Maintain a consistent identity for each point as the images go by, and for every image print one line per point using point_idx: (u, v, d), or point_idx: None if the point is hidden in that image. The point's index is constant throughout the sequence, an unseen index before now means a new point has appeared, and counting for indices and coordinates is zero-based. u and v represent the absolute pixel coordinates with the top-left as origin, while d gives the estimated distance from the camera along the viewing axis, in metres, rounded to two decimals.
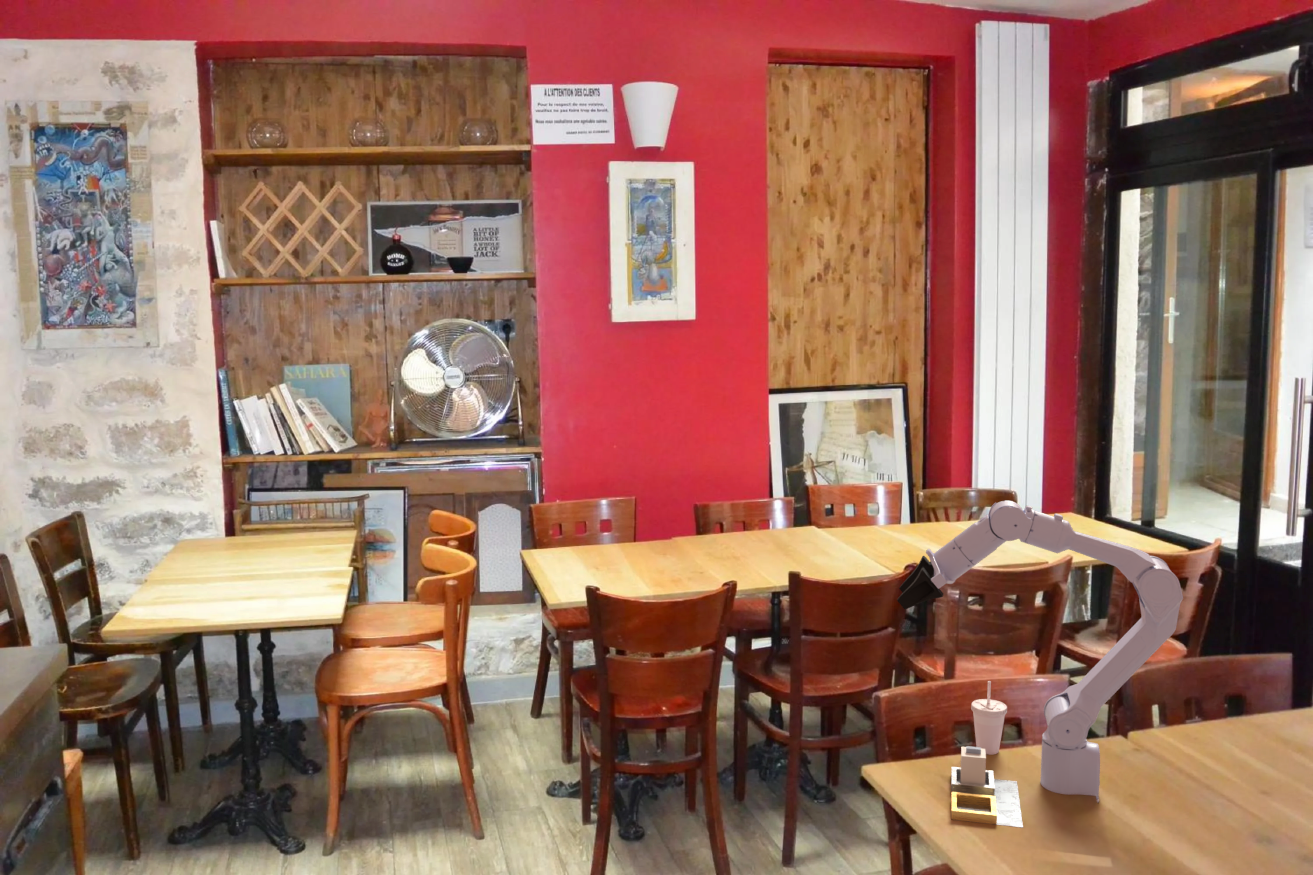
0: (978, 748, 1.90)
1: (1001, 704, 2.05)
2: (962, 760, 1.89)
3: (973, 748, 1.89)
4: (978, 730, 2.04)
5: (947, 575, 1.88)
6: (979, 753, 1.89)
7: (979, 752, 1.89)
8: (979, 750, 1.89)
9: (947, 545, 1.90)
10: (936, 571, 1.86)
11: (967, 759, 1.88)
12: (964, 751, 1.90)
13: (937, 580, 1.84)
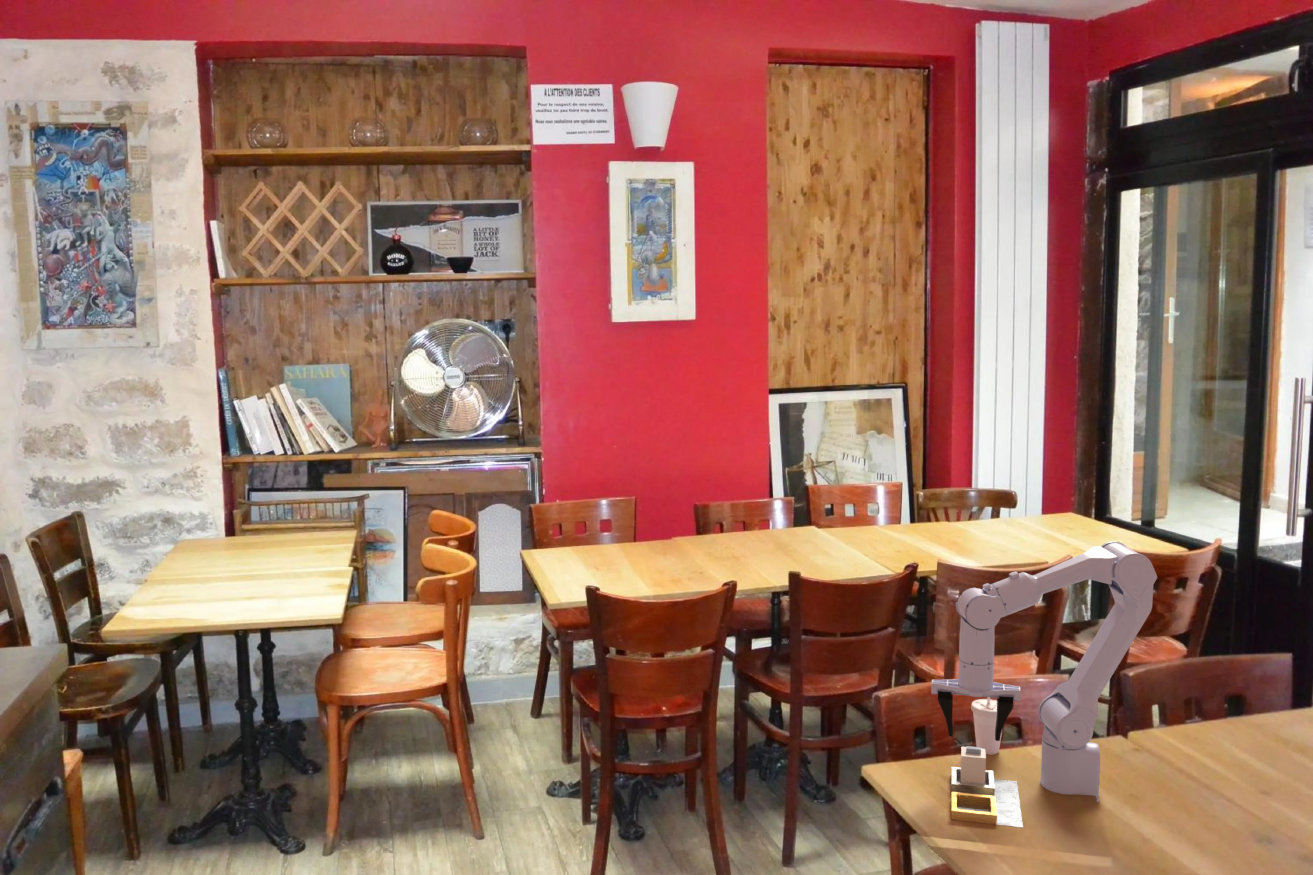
0: (978, 748, 1.90)
1: None
2: (962, 760, 1.89)
3: (973, 748, 1.89)
4: (978, 730, 2.04)
5: None
6: (979, 753, 1.89)
7: (979, 752, 1.89)
8: (979, 750, 1.89)
9: (981, 673, 1.85)
10: (1010, 692, 1.86)
11: (967, 759, 1.88)
12: (964, 751, 1.90)
13: None
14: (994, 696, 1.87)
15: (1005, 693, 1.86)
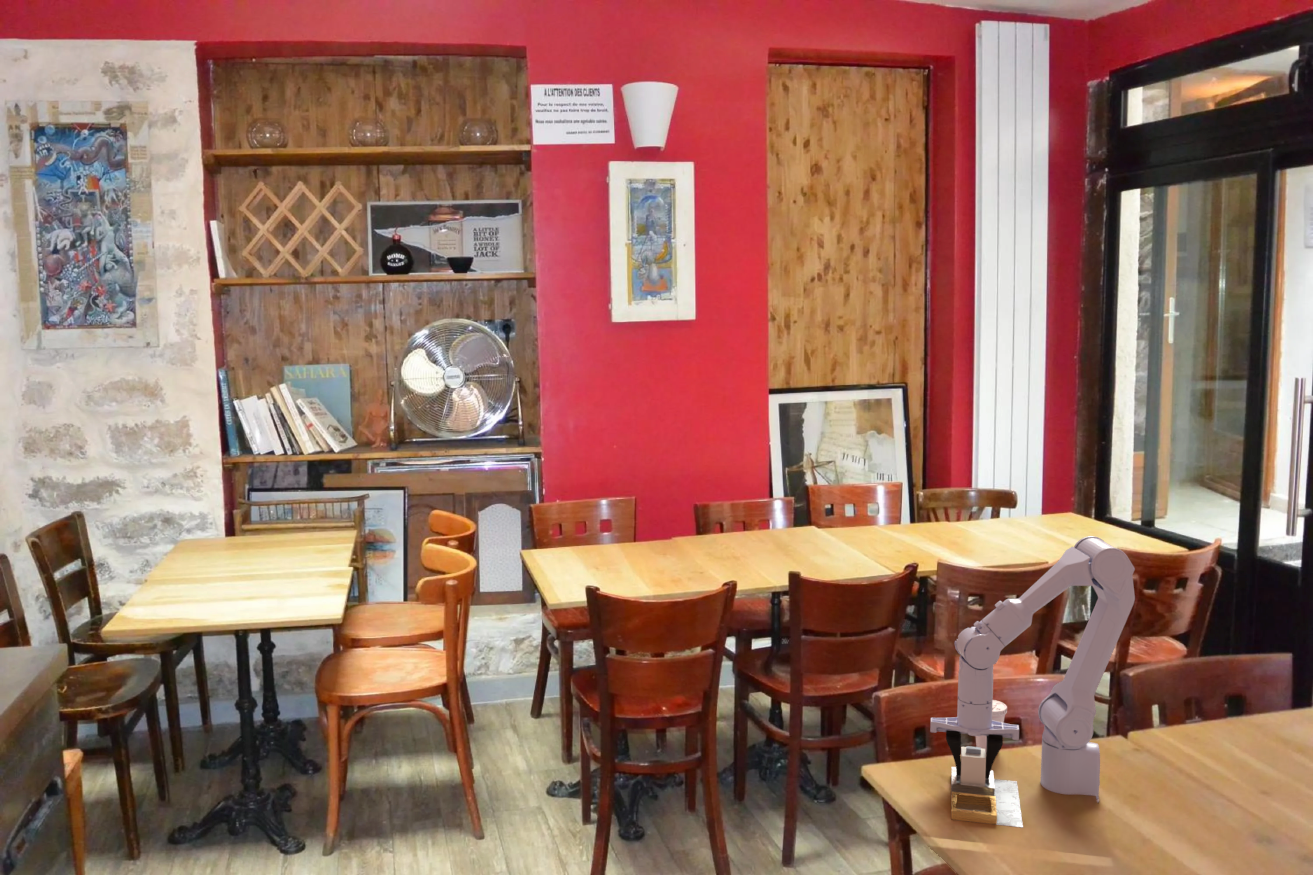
0: (978, 748, 1.90)
1: (1001, 704, 2.05)
2: (962, 760, 1.89)
3: (973, 748, 1.89)
4: None
5: None
6: (979, 753, 1.89)
7: (979, 752, 1.89)
8: (979, 750, 1.89)
9: (979, 712, 1.86)
10: (1008, 731, 1.87)
11: (967, 759, 1.88)
12: (964, 751, 1.90)
13: None
14: (993, 735, 1.88)
15: (1004, 732, 1.87)
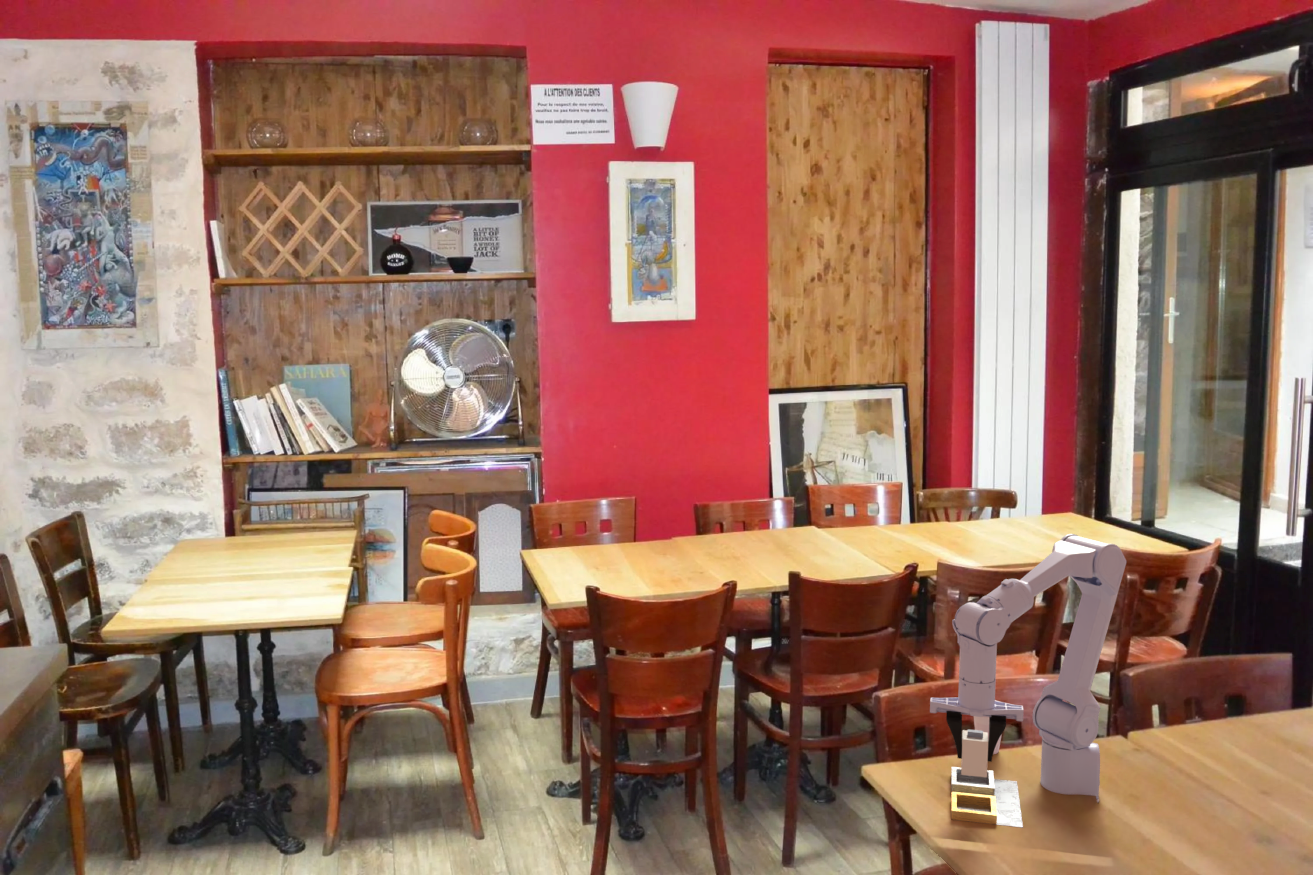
0: (980, 731, 1.80)
1: None
2: (963, 744, 1.79)
3: (975, 731, 1.80)
4: None
5: None
6: (981, 737, 1.80)
7: (981, 736, 1.80)
8: (981, 734, 1.80)
9: (982, 692, 1.76)
10: (1012, 712, 1.77)
11: (968, 742, 1.79)
12: (965, 735, 1.81)
13: None
14: None
15: (1007, 713, 1.77)
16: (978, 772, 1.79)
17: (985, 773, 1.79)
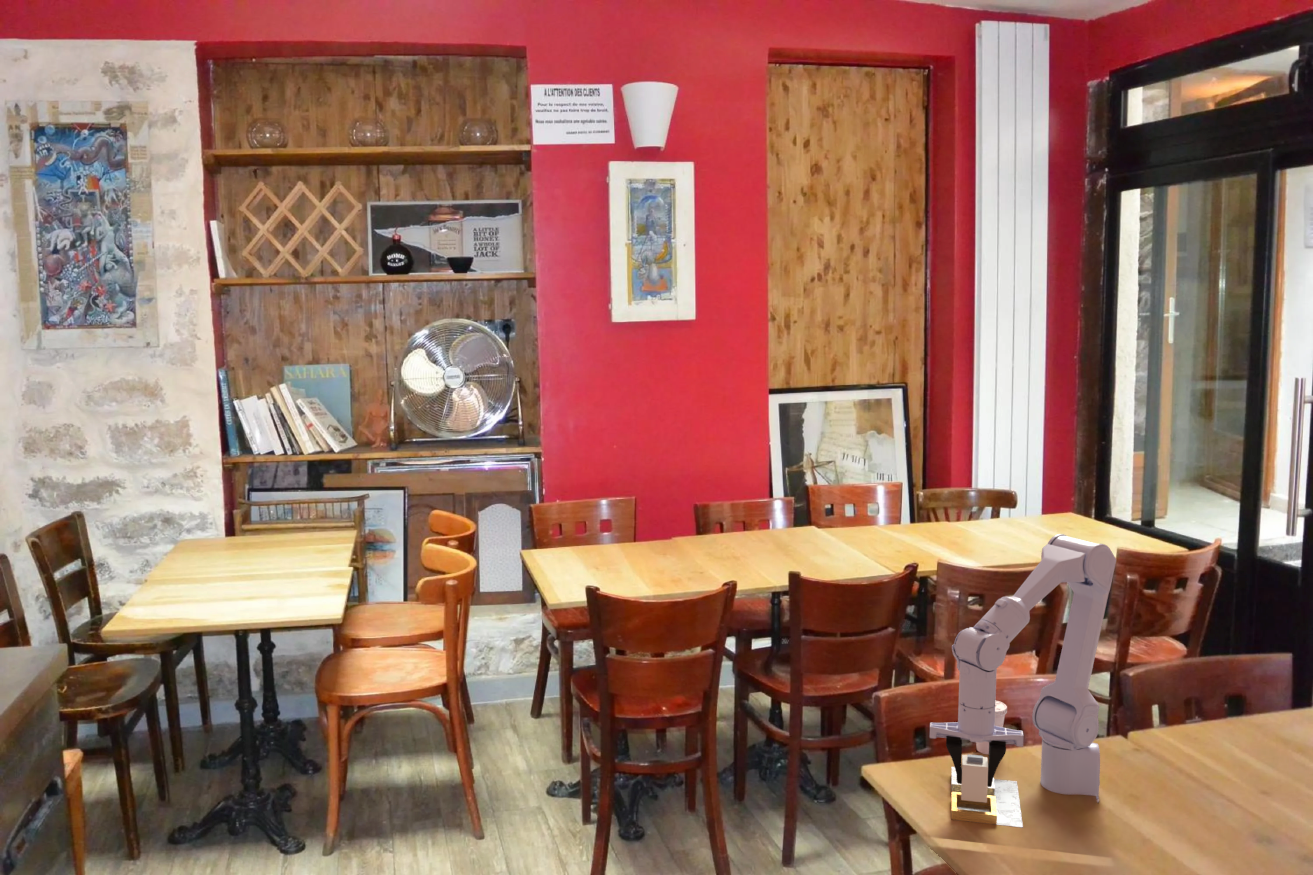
0: (980, 756, 1.80)
1: (1001, 704, 2.05)
2: (963, 769, 1.79)
3: (974, 757, 1.80)
4: None
5: None
6: (981, 762, 1.80)
7: (981, 761, 1.80)
8: (981, 759, 1.80)
9: (981, 717, 1.76)
10: (1012, 738, 1.77)
11: (968, 768, 1.79)
12: (965, 760, 1.81)
13: None
14: (995, 741, 1.78)
15: (1007, 738, 1.77)
16: (978, 797, 1.79)
17: (985, 798, 1.79)
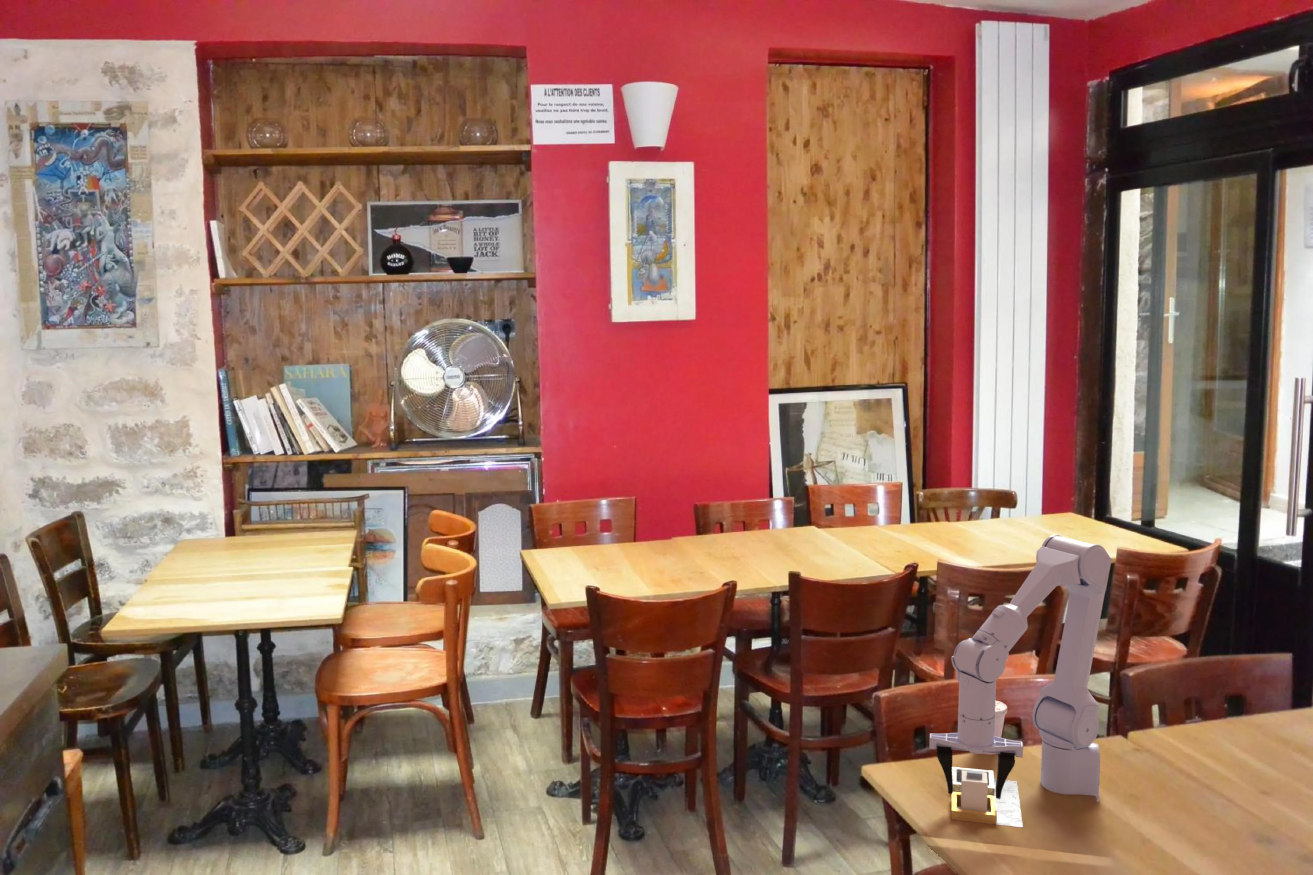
0: (979, 772, 1.80)
1: (1001, 704, 2.05)
2: (963, 785, 1.79)
3: (974, 772, 1.80)
4: None
5: None
6: (980, 777, 1.80)
7: (980, 776, 1.80)
8: (980, 774, 1.80)
9: (981, 728, 1.76)
10: (1012, 748, 1.77)
11: (968, 784, 1.79)
12: (965, 775, 1.81)
13: None
14: (995, 752, 1.79)
15: (1007, 749, 1.77)
16: None
17: None
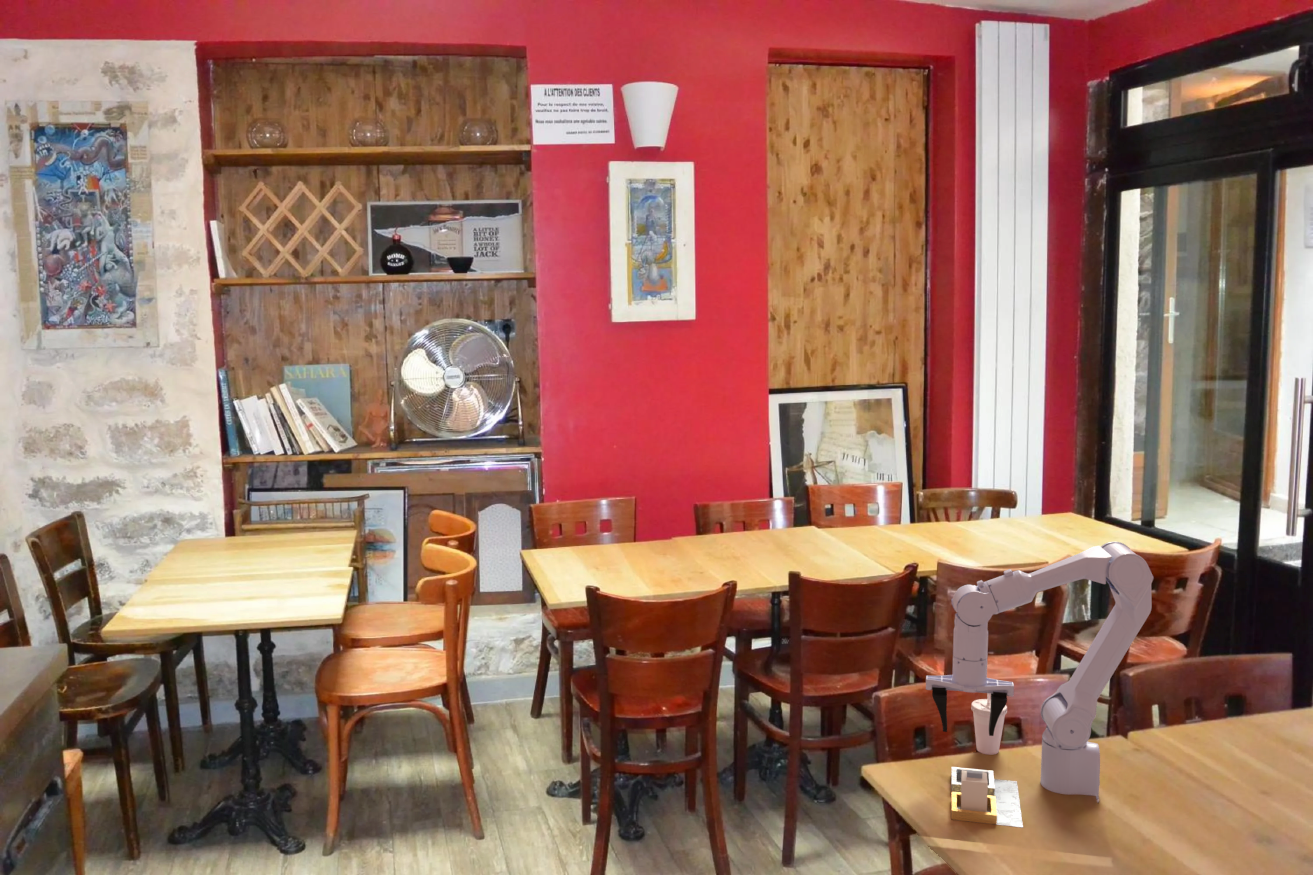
0: (979, 772, 1.80)
1: None
2: (963, 785, 1.79)
3: (974, 772, 1.80)
4: (978, 730, 2.04)
5: None
6: (980, 777, 1.80)
7: (980, 776, 1.80)
8: (980, 774, 1.80)
9: (974, 669, 1.87)
10: (1003, 688, 1.88)
11: (968, 784, 1.79)
12: (965, 775, 1.81)
13: (1013, 690, 1.88)
14: (988, 692, 1.89)
15: (999, 689, 1.88)
16: None
17: None
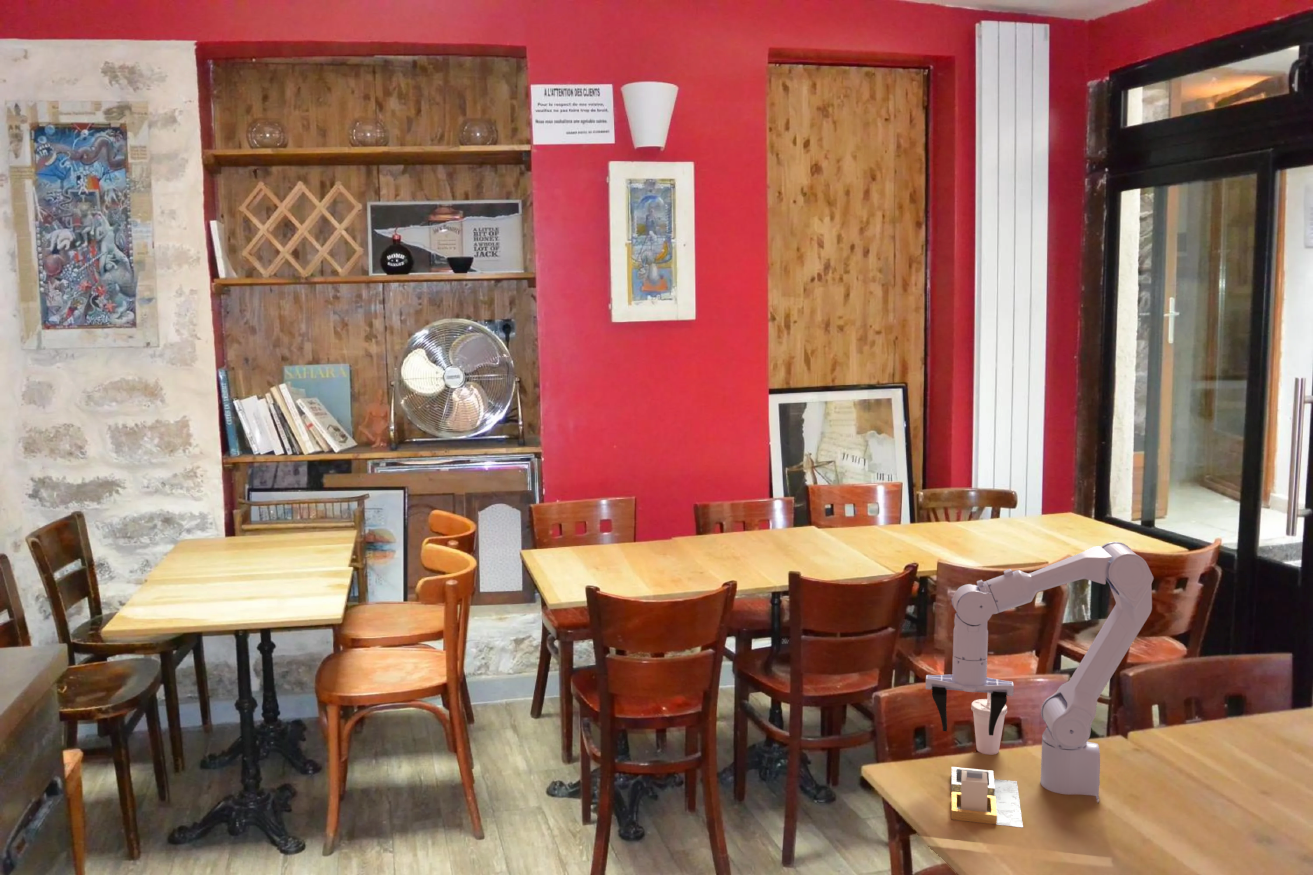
0: (979, 772, 1.80)
1: None
2: (963, 785, 1.79)
3: (974, 772, 1.80)
4: (978, 730, 2.04)
5: None
6: (980, 777, 1.80)
7: (980, 776, 1.80)
8: (980, 774, 1.80)
9: (974, 668, 1.87)
10: (1003, 688, 1.88)
11: (968, 784, 1.79)
12: (965, 775, 1.81)
13: None
14: (987, 691, 1.90)
15: (998, 688, 1.88)
16: None
17: None
